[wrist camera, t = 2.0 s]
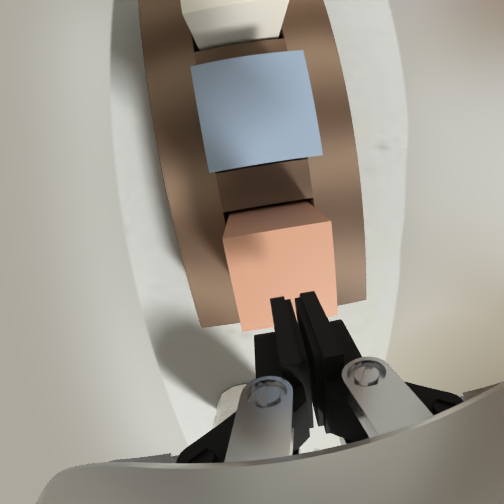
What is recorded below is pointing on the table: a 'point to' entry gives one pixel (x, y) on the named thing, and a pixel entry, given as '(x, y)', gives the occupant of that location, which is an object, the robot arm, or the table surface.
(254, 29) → the cream key
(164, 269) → the table surface
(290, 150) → the slate key
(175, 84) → the brown long flat block
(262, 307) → the peach block
